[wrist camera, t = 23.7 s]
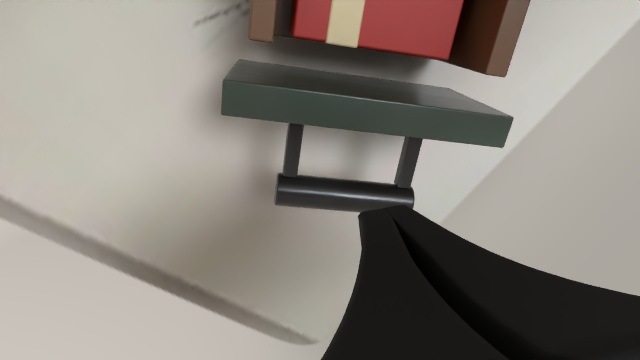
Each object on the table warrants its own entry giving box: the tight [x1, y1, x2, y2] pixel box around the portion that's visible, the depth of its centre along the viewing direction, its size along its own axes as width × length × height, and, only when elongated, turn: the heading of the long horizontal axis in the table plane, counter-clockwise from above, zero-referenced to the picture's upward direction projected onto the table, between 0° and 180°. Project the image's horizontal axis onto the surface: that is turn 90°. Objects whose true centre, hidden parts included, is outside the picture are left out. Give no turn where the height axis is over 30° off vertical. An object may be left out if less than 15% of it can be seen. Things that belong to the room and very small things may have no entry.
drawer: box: [221, 0, 530, 212], centre depth 15 cm, size 17×10×6 cm, turn 172°
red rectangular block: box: [289, 0, 464, 60], centre depth 15 cm, size 6×3×3 cm, turn 82°
